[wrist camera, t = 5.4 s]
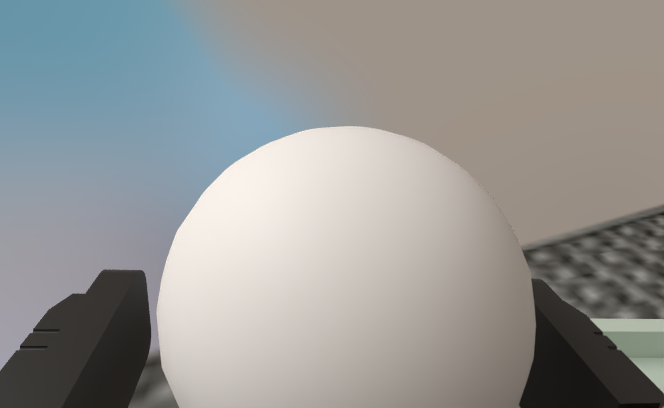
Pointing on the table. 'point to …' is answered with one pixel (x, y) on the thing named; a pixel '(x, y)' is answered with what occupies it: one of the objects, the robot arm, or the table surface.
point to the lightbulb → (346, 282)
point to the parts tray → (638, 343)
